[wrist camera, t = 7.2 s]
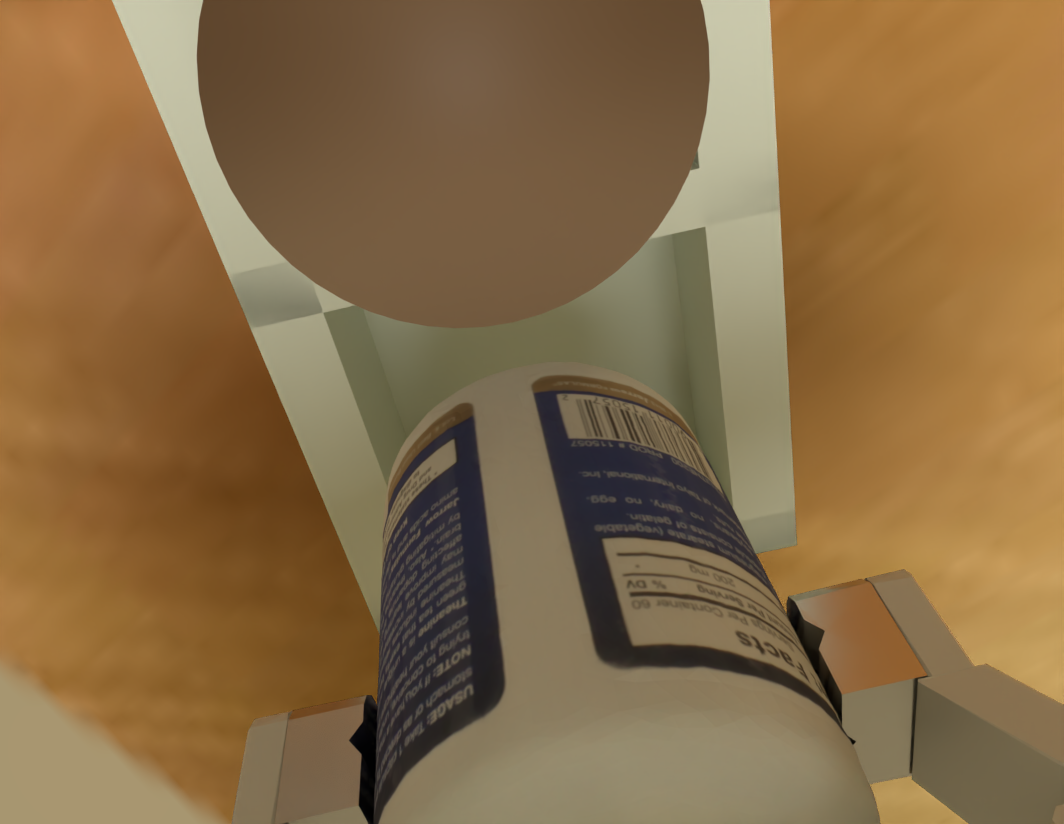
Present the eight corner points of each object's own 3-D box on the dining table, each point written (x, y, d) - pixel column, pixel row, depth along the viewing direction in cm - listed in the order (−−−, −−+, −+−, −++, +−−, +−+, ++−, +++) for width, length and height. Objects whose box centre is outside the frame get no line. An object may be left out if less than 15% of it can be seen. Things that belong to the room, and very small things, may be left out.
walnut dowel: (593, 70, 17) (728, 274, 9) (360, 124, 17) (301, 369, 9) (549, -218, 14) (681, -266, 7) (276, -151, 14) (102, -127, 7)
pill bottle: (457, 645, 17) (505, 1390, 9) (328, 423, 14) (216, 1212, 6) (732, 550, 17) (1055, 1240, 8) (655, 300, 14) (1025, 971, 5)
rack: (741, 437, 22) (797, 544, 19) (375, 517, 23) (365, 637, 19) (667, -414, 14) (744, -492, 10) (72, -267, 14) (-42, -298, 11)
